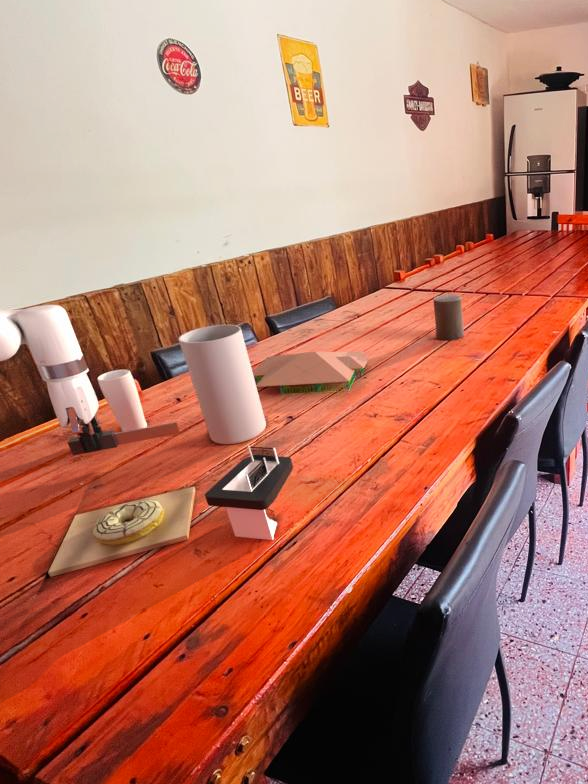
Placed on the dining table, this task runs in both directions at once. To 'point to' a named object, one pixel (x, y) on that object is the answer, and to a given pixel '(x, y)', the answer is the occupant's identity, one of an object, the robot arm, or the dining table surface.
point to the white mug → (123, 399)
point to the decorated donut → (128, 523)
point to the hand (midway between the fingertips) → (95, 447)
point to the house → (310, 369)
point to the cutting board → (89, 551)
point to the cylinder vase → (224, 383)
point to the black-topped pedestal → (252, 492)
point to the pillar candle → (448, 317)
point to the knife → (126, 436)
